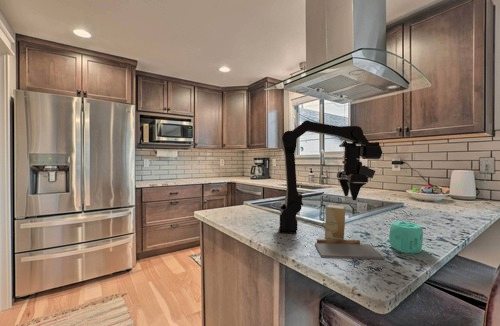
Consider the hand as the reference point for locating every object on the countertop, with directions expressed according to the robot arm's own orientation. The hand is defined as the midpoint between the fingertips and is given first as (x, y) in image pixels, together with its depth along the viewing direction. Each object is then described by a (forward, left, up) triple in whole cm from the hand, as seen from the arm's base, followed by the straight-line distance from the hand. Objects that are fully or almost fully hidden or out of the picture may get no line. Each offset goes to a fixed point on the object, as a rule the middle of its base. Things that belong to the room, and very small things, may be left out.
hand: (350, 198), depth 94 cm
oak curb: (-9, -14, -14) cm, 21 cm away
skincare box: (-8, -10, -14) cm, 19 cm away
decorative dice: (+13, -16, -14) cm, 25 cm away
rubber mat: (-7, -20, -14) cm, 25 cm away
